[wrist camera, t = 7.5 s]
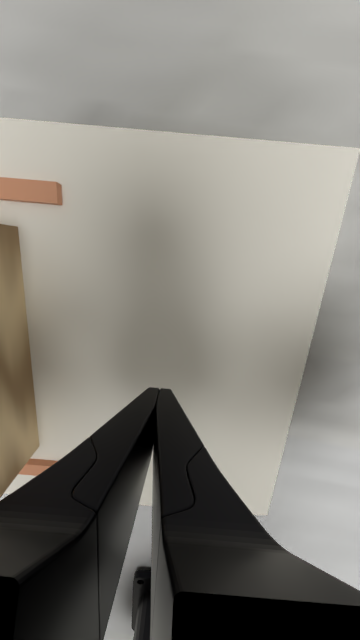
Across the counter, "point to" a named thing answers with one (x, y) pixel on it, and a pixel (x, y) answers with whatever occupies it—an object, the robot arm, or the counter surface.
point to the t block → (14, 365)
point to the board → (171, 281)
